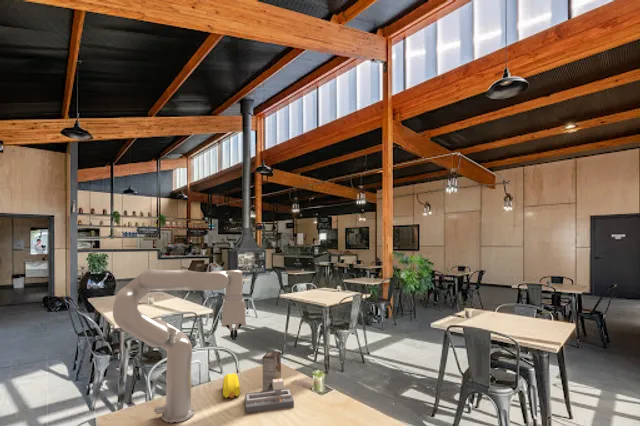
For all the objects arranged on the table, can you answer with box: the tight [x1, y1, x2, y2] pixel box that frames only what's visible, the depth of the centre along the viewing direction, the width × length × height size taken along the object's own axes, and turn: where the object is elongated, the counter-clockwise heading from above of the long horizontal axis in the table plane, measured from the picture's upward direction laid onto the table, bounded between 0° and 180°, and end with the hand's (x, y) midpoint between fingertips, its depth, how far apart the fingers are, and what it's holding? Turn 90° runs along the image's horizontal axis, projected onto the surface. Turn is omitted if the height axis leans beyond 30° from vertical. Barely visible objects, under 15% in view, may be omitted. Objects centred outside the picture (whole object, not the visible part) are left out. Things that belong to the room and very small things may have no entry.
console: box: [244, 387, 295, 414], centre depth 152 cm, size 20×13×3 cm, turn 104°
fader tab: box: [273, 377, 285, 396], centre depth 153 cm, size 4×3×6 cm
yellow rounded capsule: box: [222, 372, 241, 399], centre depth 163 cm, size 18×7×8 cm
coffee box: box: [262, 350, 282, 391], centre depth 167 cm, size 9×6×16 cm
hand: (233, 339), depth 155 cm, fingers closed
